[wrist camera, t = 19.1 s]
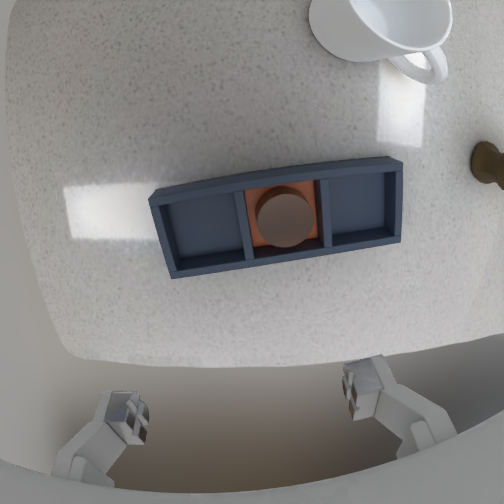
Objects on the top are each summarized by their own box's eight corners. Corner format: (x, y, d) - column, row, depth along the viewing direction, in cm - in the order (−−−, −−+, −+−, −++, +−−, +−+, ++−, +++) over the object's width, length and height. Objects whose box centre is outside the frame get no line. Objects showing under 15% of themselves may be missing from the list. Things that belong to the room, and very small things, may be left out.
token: (251, 190, 28) (253, 198, 26) (305, 182, 28) (312, 189, 26) (259, 239, 30) (261, 251, 28) (310, 231, 30) (316, 243, 28)
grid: (155, 189, 28) (147, 199, 26) (388, 156, 28) (403, 162, 25) (176, 264, 32) (171, 279, 29) (388, 230, 31) (400, 242, 29)
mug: (427, 61, 23) (496, 58, 14) (379, 109, 26) (441, 119, 16) (344, -27, 19) (390, -70, 10) (287, 18, 21) (315, -22, 12)
